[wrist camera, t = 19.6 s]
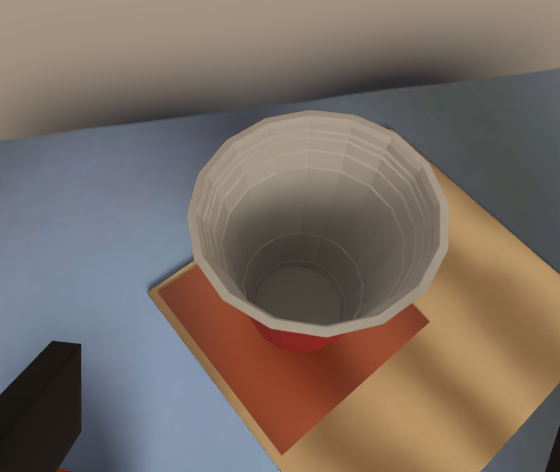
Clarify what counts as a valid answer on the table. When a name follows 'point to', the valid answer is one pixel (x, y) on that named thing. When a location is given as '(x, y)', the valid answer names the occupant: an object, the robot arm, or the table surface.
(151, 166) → the table surface
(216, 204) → the plastic cup
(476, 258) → the corner board
